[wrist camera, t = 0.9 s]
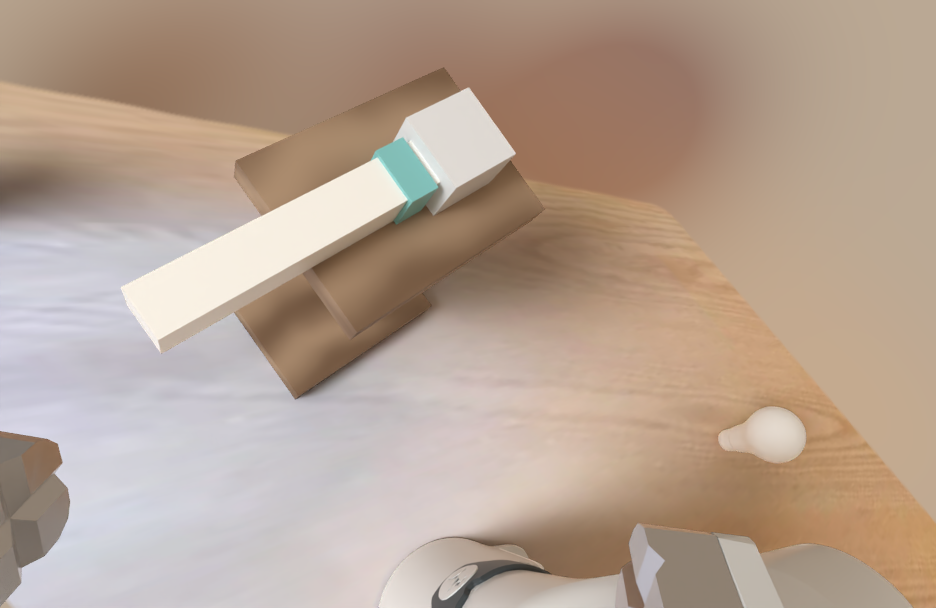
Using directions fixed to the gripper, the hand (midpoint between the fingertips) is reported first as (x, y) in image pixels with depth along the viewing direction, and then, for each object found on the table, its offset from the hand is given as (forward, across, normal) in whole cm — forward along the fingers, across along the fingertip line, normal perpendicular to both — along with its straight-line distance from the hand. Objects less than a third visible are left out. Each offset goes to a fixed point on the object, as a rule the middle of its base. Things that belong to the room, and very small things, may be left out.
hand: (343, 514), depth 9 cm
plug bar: (+28, -8, -6) cm, 30 cm away
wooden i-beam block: (+49, -13, -22) cm, 55 cm away
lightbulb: (+58, +32, -37) cm, 76 cm away
